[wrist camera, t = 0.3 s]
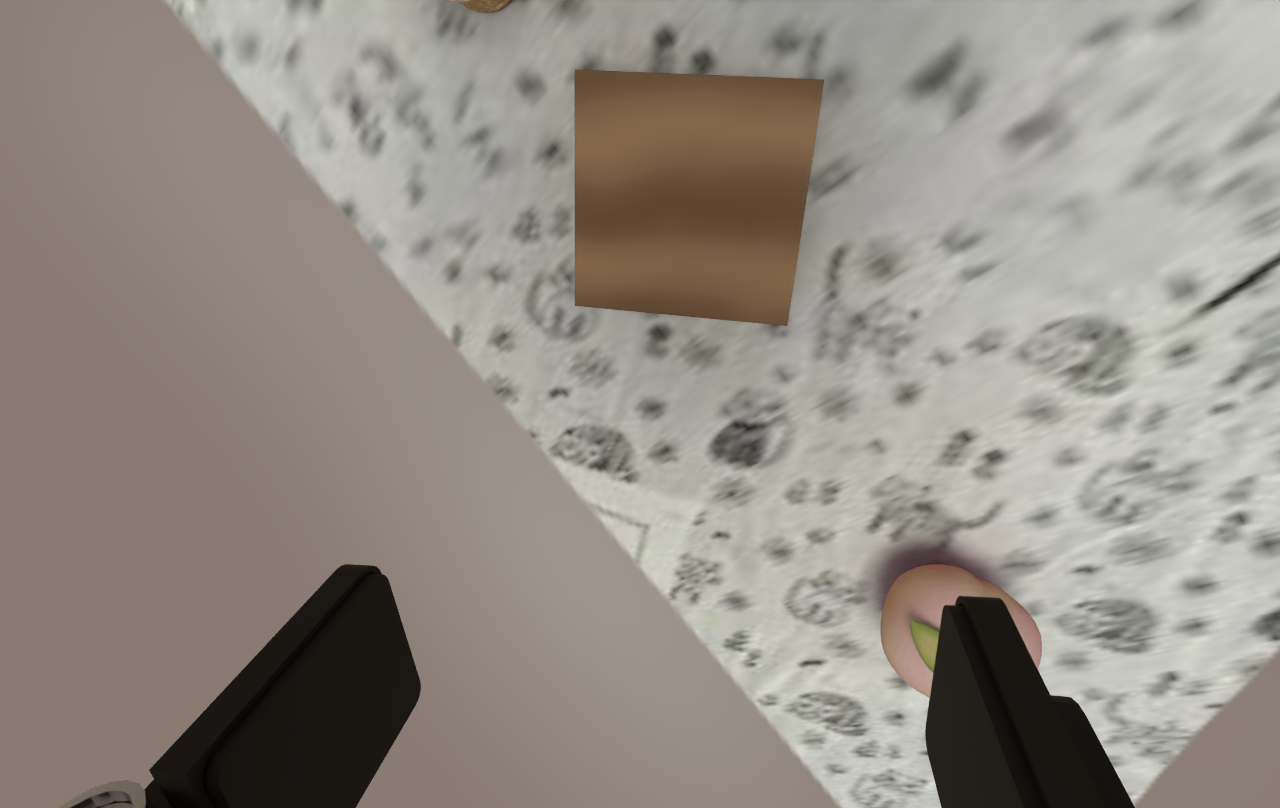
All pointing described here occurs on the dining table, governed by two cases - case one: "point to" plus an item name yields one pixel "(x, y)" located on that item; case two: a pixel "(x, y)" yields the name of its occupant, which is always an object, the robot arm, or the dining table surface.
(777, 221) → the walnut stand
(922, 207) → the dining table surface
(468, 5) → the sprinkles bottle
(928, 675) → the decorative fruit
